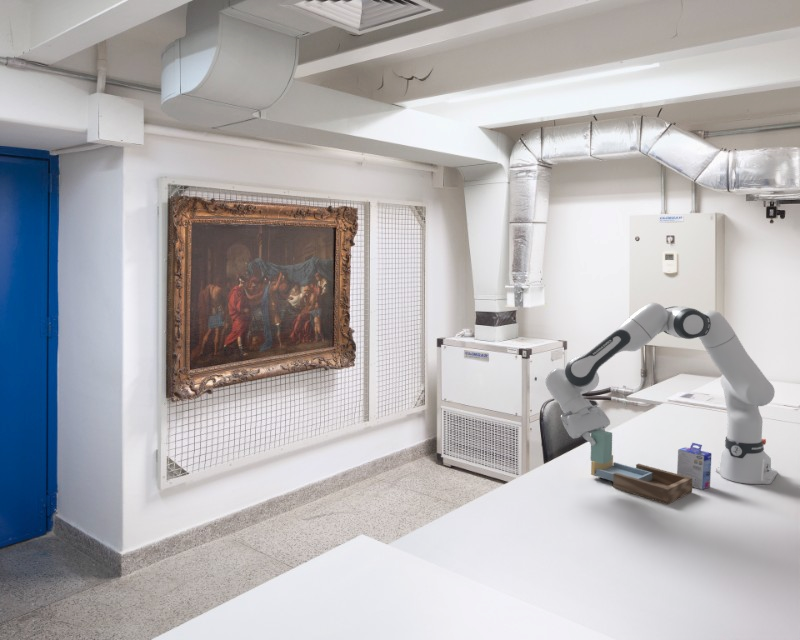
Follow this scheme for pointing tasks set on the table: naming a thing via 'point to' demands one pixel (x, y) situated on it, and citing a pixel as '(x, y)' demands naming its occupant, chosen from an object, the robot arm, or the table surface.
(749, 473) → the robot arm
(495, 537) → the table surface
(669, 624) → the table surface
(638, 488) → the dock
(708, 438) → the table surface
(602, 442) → the block
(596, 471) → the tray
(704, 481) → the ink cartridge box
